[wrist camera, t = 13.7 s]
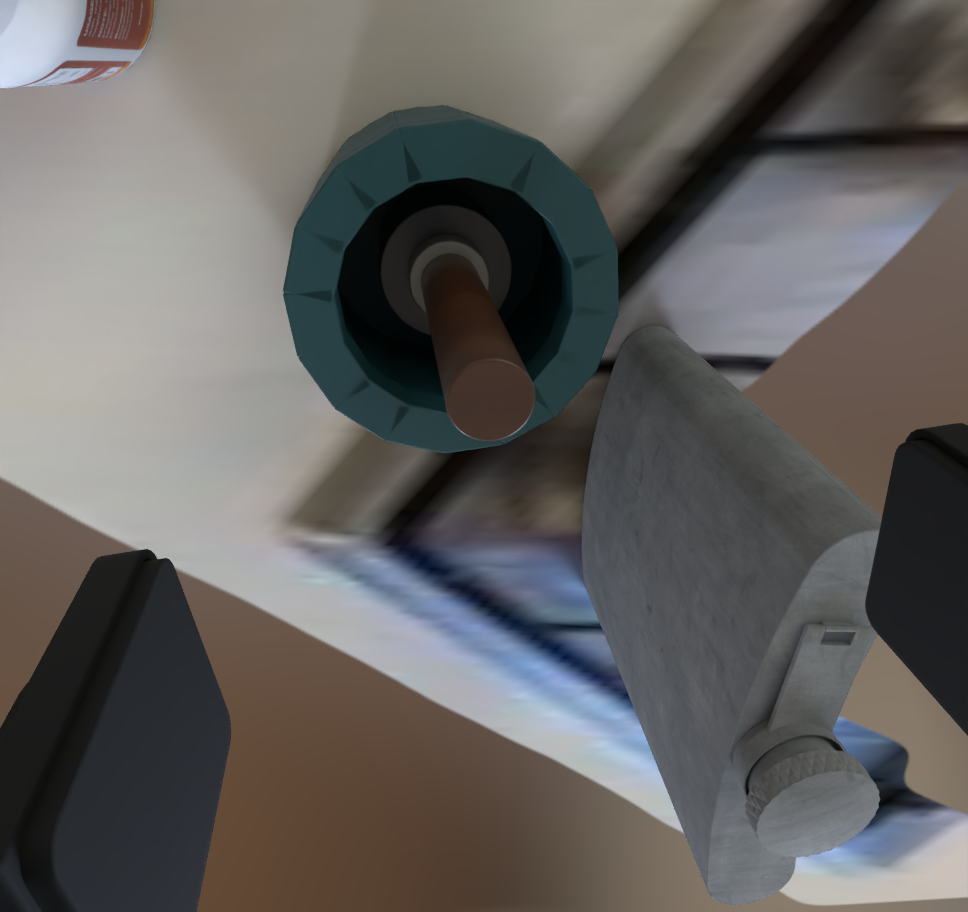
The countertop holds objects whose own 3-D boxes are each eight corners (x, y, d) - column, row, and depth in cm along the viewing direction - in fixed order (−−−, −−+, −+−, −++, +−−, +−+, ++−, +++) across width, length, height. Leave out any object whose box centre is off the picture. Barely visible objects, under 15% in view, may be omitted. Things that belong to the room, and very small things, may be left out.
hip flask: (634, 597, 42) (819, 976, 24) (564, 599, 41) (702, 988, 24) (687, 326, 35) (1003, 587, 17) (604, 324, 34) (843, 591, 17)
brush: (369, 191, 30) (363, 310, 15) (488, 177, 30) (594, 279, 15) (388, 308, 32) (399, 510, 17) (498, 293, 32) (600, 479, 18)
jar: (287, 122, 29) (248, 144, 20) (545, 92, 29) (616, 101, 21) (337, 366, 34) (323, 472, 25) (557, 336, 34) (620, 428, 25)
